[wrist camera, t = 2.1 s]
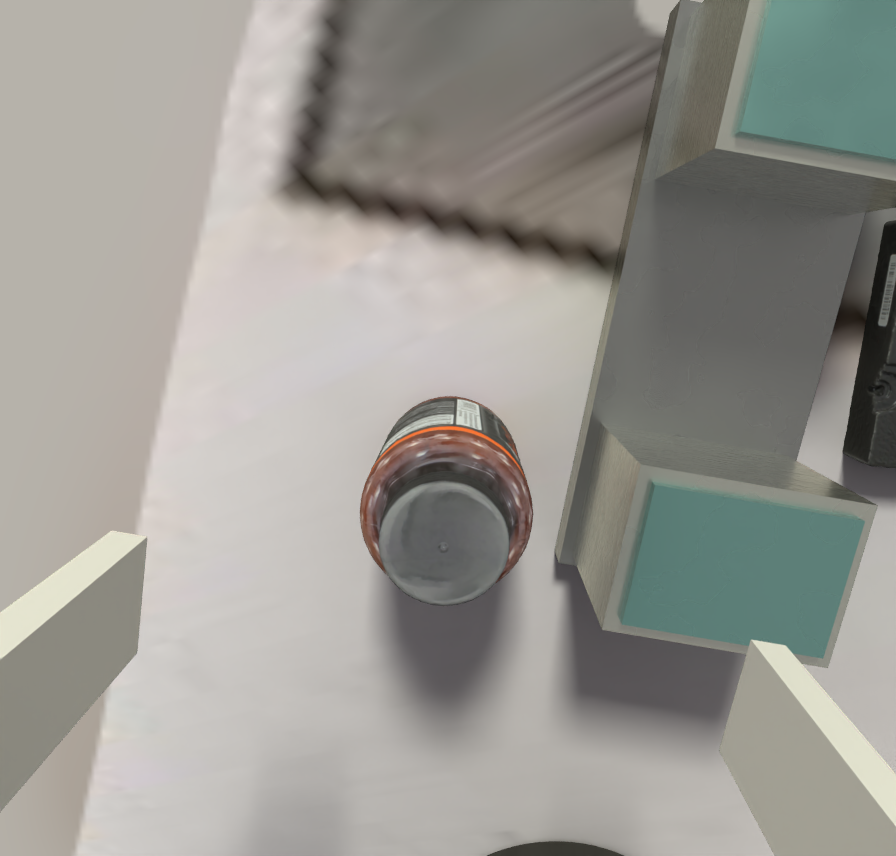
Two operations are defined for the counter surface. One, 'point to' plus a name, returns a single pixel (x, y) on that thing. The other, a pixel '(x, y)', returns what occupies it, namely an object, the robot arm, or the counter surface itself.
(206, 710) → the counter surface
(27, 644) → the robot arm
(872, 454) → the disk drive
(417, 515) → the supplement bottle
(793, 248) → the rail
